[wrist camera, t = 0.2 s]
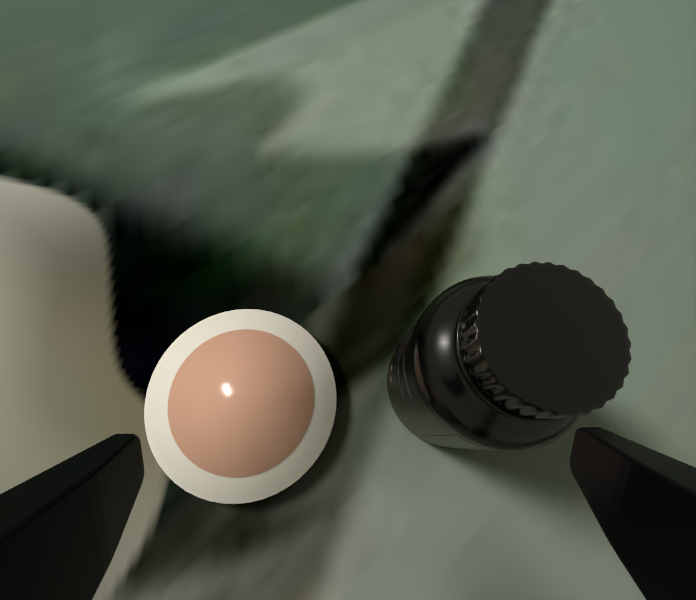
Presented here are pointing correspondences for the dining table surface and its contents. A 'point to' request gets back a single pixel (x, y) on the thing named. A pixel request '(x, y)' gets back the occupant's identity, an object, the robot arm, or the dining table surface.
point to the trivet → (240, 406)
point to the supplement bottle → (509, 360)
